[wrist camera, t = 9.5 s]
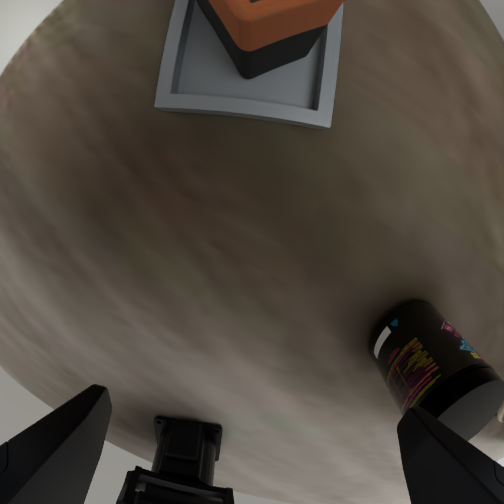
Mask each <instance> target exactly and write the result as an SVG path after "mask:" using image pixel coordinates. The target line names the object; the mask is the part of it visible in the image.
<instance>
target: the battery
mask: <svg viewBox="0 0 504 504" xmlns="http://www.w3.org/2000/svg"><path fill="white" fill-rule="evenodd" d="M196 1H197V3H198V5H199V7H200V8H201V10H202V12H203V13H204V15H205V16H206V18H207V20H208V21H209V23H210V24H211V26H212V28H213V29H214V31H215V33H216V34H217V36H218V37H219V39H220V41H221V42H222V44H223V46H224V48H225V49H226V51H227V53H228V54H229V56H230V58H231V59H232V61H233V63H234V65H235V66H236V68H237V70H238V72H239V73H240V75H241V76H242V77H243V78H245V79H252V78H254V77H257V76H259V75H261V74H264V73H266V72H268V71H271V70H273V69H276V68H278V67H281V66H283V65H286V64H288V63H291V62H293V61H296V60H299V59H301V58H304V57H306V56H307V55H308V53H309V52H310V50H311V49H312V47H313V46H314V44H315V43H316V41H317V40H318V38H319V37H320V35H321V34H322V32H323V31H324V29H325V28H326V26H327V25H328V23H329V22H330V20H331V19H332V18H333V16H334V15H335V13H336V12H337V10H338V9H339V7H340V6H341V5H342V3H343V2H344V0H196Z"/></svg>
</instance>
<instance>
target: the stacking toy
mask: <svg viewBox="0 0 504 504" xmlns="http://www.w3.org/2000/svg"><path fill="white" fill-rule="evenodd" d="M497 419H498V420H499V421H500V422H504V401H503V403H502V405H501V407H500V408H499V410H498V411H497Z"/></svg>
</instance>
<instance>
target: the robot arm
mask: <svg viewBox="0 0 504 504" xmlns="http://www.w3.org/2000/svg"><path fill="white" fill-rule="evenodd" d="M111 412H112V404H111V400H110V396H109V392H108V389H107V388H106V387H104V386H101V385H97V384H93V385H91V386H90V387H88V388H87V389H85V390H84V391H82V392H81V393H79V394H78V395H76V396H75V397H73V398H72V399H70V400H69V401H67V402H66V403H64V404H63V405H61V406H60V407H58V408H57V409H55V410H54V411H52V412H51V413H49V414H48V415H46V416H45V417H43V418H42V419H40V420H39V421H37V422H36V423H35V424H33V425H31V426H30V427H28V428H27V429H25V430H24V431H22V432H21V433H19V434H17V435H16V436H14V437H13V438H11V439H10V440H9V441H8V442H5V443H3V444H2V445H0V504H84V501H85V498H86V495H87V493H88V490H89V487H90V484H91V481H92V478H93V475H94V473H95V470H96V467H97V464H98V462H99V459H100V456H101V453H102V449H103V444H104V440H105V436H106V432H107V428H108V424H109V420H110V416H111ZM154 425H155V432H156V439H157V449H156V453H155V457H154V461H153V465H152V469H151V471H149V470H146V469H142V468H141V467H139V466H136V467H135V470H133V471H128V472H127V475H126V478H125V482H124V485H123V487H122V490H121V492H120V494H119V497H118V499H117V502H116V504H234V497H233V489H232V488H227V487H226V488H222V487H216V486H213V478H214V466H215V461H218V460H219V453H220V445H221V437H222V427H221V426H219V425H211V424H204V423H196V422H190V421H183V420H177V419H171V418H166V417H160V416H156V417H155V419H154ZM397 434H398V440H399V446H400V453H401V460H402V466H403V471H404V475H405V479H406V483H407V487H408V491H409V496H410V500H411V504H504V467H502V466H501V465H500V464H498V463H497V462H496V461H494V460H492V459H491V458H490V457H488V456H487V455H486V454H484V453H483V452H482V451H480V450H479V449H477V448H476V447H475V446H473V445H472V444H470V443H469V442H468V441H466V440H465V439H464V438H462V437H461V436H459V435H458V434H457V433H455V432H454V431H453V430H451V429H450V428H449V427H447V426H446V425H444V424H443V423H442V422H440V421H439V420H438V419H436V418H435V417H434V416H432V415H431V414H430V413H428V412H427V411H426V410H424V409H423V408H421V407H411V408H409V409H407V411H406V412H405V414H404V415H403V417H402V418H401V420H400V421H399V423H398V426H397Z"/></svg>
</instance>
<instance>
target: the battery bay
mask: <svg viewBox="0 0 504 504" xmlns="http://www.w3.org/2000/svg"><path fill="white" fill-rule="evenodd" d="M343 3H344V2H343ZM343 3H342V5H341V6H340V7H339V9H338V10H337V12H336V13H335V15H334V16H333V18H332V19H331V20H330V22H329V23H328V25H327V26H326V28H325V29H324V31H323V32H322V34H321V35H320V37H319V38H318V40H317V41H316V43H315V44H314V46H313V47H312V49H311V50H310V52H309V53H308V55H307V56H306V57H304V58H301V59H299V60H296V61H293V62H291V63H288V64H286V65H283V66H281V67H278V68H276V69H273V70H271V71H268V72H266V73H264V74H261V75H259V76H257V77H254V78H252V79H245V78H243V77H242V76H241V75H240V73H239V72H238V70H237V68H236V66H235V65H234V63H233V61H232V59H231V58H230V56H229V54H228V53H227V51H226V49H225V48H224V46H223V44H222V42H221V41H220V39H219V37H218V36H217V34H216V33H215V31H214V29H213V28H212V26H211V24H210V23H209V21H208V20H207V18H206V16H205V15H204V13H203V12H202V10H201V8H200V7H199V5H198V3H197V1H196V0H175V4H174V8H173V12H172V16H171V20H170V24H169V28H168V33H167V37H166V42H165V47H164V52H163V57H162V62H161V67H160V73H159V78H158V84H157V91H156V97H155V104H154V107H155V108H157V109H159V110H162V111H164V112H183V113H198V114H211V115H222V116H232V117H241V118H249V119H257V120H264V121H271V122H277V123H284V124H290V125H296V126H301V127H307V128H312V129H317V130H324V129H328V128H330V126H331V119H332V112H333V104H334V96H335V88H336V79H337V70H338V61H339V51H340V40H341V29H342V17H343Z"/></svg>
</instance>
